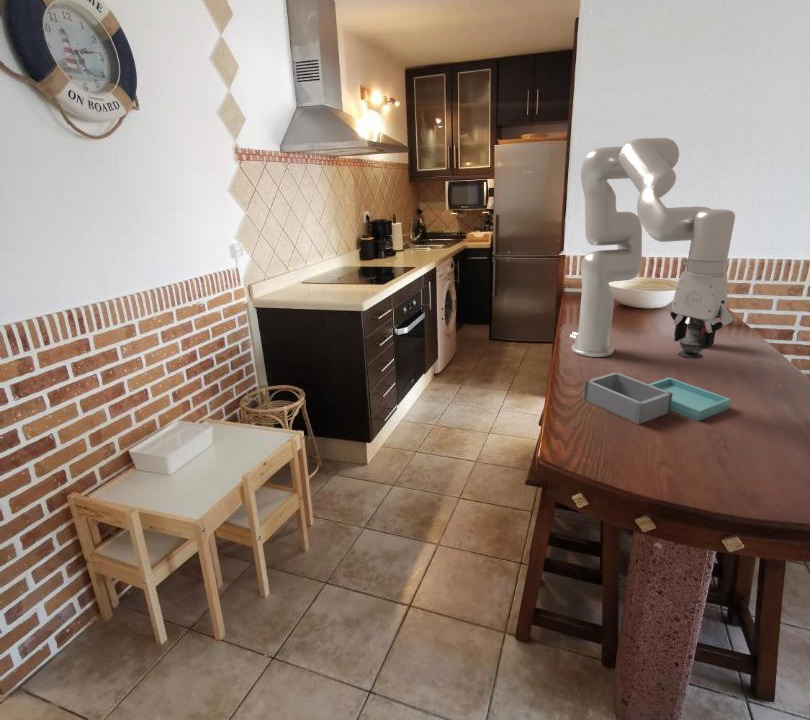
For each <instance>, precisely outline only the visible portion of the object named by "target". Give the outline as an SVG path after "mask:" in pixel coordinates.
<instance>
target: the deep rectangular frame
mask: <svg viewBox="0 0 810 720" xmlns="http://www.w3.org/2000/svg"><path fill="white" fill-rule="evenodd" d="M649 384H650V383H647V382H644V381H641V380H638V379H635V378H633V377H631V376H629V375H628V376H627V375H625V374H622V373H621V372H617V371H614V372H611V373H608V374H604V375H601V376H597V377H594V378H591V379H588V380H585V384H584V385H585V386H584V394H583V395H584V396H583V400H584V401H586V402H589V403H591V404H593V405H595V404H596V405H595V406H598V407H600V408H602V409H604V410H606V411H608V412H611V413H612V414H615V415H617V416H619V417H621V418H623V419H626V420H628V421H629V422H633V423H634V424H635V425H640V424H644V423H645V422H648V421H651V420H654V419H656V418H657V419H658V418H659V417H662V416H664V415H668V414H670V411H671V410H670V407H671V401H672V395H673V393H670V392H667V391H665V390H662V389H660V388H657V387H654V386H652V385H649Z"/></svg>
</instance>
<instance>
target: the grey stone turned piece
mask: <svg viewBox="0 0 810 720" xmlns="http://www.w3.org/2000/svg"><path fill="white" fill-rule="evenodd" d="M703 322H704V320H699V319H695V318H691V317H690V320H689V324H687V330H686V336H685V337H684V338H680V339H679V341H678V342H679V346H680V349H682V350H681V351H679V352H677V356H679V357H681V358H684V359H689V360H701V359H703V358H704V355H703V354H702V353H701V352H702V351H703V350H704V349H702V348H701V342H702V329H703V328H704V327H705V326H704V325H703Z"/></svg>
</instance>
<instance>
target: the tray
mask: <svg viewBox="0 0 810 720" xmlns="http://www.w3.org/2000/svg"><path fill="white" fill-rule="evenodd" d="M648 384H649V385H652V386H654V387H657V388H660V389H662V390H665V391H667V392H670V393H673V395H672V401H671V407H670V411H672V412H675V413H678V414H680V415H682V416H684V417H687V418H690V419H691V420H693V421H697V422H700V421H701V420H705V419H707V418H709V417H711V416H715V415H717V414H719V413H721V412H724V411H727V410H729V409H730V407H731V406H730V405H731V402H732V399H731V398H729V397H726V396H723V395H720V394H718V393H715V392H713V391H709V390H706V389H703V388H700V387H698V386H696V385H692V384H689V383H687V382H683V381H681V380H678V379H675V378H672V377H666V378H663V379H660V380H656V381H654V382H651V383H648Z"/></svg>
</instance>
